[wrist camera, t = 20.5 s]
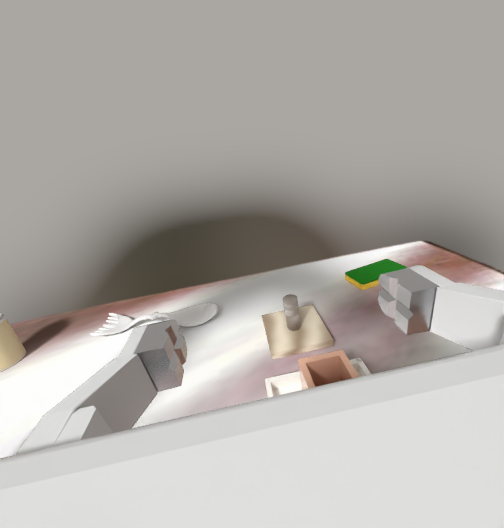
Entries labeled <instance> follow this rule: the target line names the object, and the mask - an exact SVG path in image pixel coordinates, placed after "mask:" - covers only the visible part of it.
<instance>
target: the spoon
mask: <svg viewBox="0 0 504 528" xmlns="http://www.w3.org/2000/svg"><path fill="white" fill-rule="evenodd" d="M217 310H218V307H217V305H216V304H215V303H205V304H200V305H196V306H191V307H188V308H185V309H182V310H179V311H175V312H171V313H159V312H154V313H152V314H148V315H143V316H140V317H138V318H136V319H135V320H132V319H131V318H130V317H128V316H122V315H119V314H115V313H109V315H110V316H113V317H108V319H110V320H107V321H106V322H108V323H112V324H104V325H103V326H104V327H107V328H99V330H98V331H95V332H97V333H91V335H92V336H102V335H109V334H116V333H119V332H122V331H125V330H127V329H128V328H130V327H131V326H133V325H134V324H136V323H137V322H139V321H141V320H145V319H151V320H155V319H156V318H159V317H166V318H169V319H170V320H173V319H175V320H176V321H177V323H178V325H180V326H186V327H190V326H196V325H200V324H202V323H204V322H206V321H208V320H210V319H211V318H212V317H214V316H215V314H216V313H217Z"/></svg>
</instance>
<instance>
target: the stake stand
mask: <svg viewBox="0 0 504 528" xmlns="http://www.w3.org/2000/svg"><path fill="white" fill-rule="evenodd" d="M283 303H284V309H285V310H284V311H280V312H275V313H271V314H266V315H262V318H263V322H264V327H265V331H266V335H267V339H268V343H269V348H270V352H271V356H272V359H277V358H281V357H286V356H290V355H294V354H299V353H303V352H308V351H312V350H317V349H321V348H326V347H330V346H334V340H333V338H332V336H331V335H330V333H329V331H328V330H327V328H326V326H325V325H324V323H323V321H322V320H321V318H320V316H319V315H318V313H317V311H316V310H315V308H314V306H313V305H307V306H303V307H298V301H297V296H295V295H286V296H285V297H284V298H283Z"/></svg>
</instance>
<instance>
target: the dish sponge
mask: <svg viewBox="0 0 504 528" xmlns="http://www.w3.org/2000/svg"><path fill="white" fill-rule="evenodd" d="M405 268H407V267H405V266H403V265H401V264H398V263H396V262H394V261H391V260H389V259H384V260H381V261H378V262H375V263H372V264H369V265H366V266H363V267H360V268H357V269H354V270H351V271H348V272H345V274H346V275H345V279H346V280H347V281H349V282H350V283H352V284H354V285H355V286H357V287H358V288H360V289H361V290H365V289H368V288H371V287H373V286H376V285H379V277H380V275H381V274H385V273H389V272H393V271H397V270H401V269H405Z"/></svg>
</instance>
